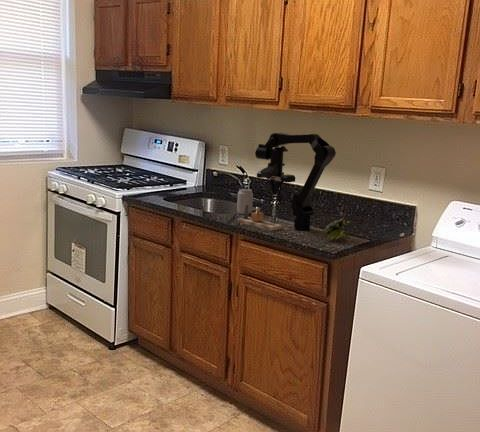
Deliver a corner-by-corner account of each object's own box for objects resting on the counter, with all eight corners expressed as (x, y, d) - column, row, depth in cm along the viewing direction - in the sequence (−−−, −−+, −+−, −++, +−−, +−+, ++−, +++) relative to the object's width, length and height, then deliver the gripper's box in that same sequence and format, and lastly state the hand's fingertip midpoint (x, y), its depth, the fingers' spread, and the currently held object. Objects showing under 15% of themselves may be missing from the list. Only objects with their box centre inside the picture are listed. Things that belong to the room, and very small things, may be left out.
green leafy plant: (330, 250, 228) (337, 224, 233) (353, 250, 221) (359, 224, 225) (316, 238, 221) (324, 212, 225) (339, 238, 214) (346, 211, 218)
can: (250, 215, 264) (251, 191, 262) (235, 214, 266) (236, 189, 263) (253, 212, 272) (254, 188, 269) (238, 211, 273) (239, 187, 271)
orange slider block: (263, 220, 245) (263, 207, 244) (257, 221, 242) (257, 208, 241) (257, 219, 247) (258, 206, 246) (251, 220, 244) (252, 207, 243)
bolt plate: (282, 228, 239) (283, 210, 238) (271, 230, 234) (272, 212, 233) (247, 220, 254) (248, 203, 252) (237, 221, 249) (237, 204, 247)
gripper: (249, 159, 245) (247, 193, 248) (280, 164, 232) (278, 200, 235) (265, 158, 252) (263, 191, 256) (297, 162, 240) (294, 197, 243)
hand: (274, 195), depth 247 cm, fingers closed
